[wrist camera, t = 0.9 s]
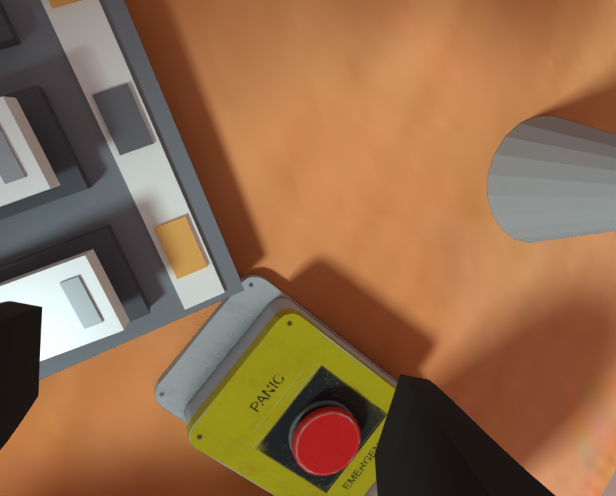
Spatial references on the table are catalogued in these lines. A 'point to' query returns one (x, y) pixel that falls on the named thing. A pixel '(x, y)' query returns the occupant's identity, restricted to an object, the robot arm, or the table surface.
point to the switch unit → (106, 169)
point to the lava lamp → (554, 180)
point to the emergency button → (279, 396)
